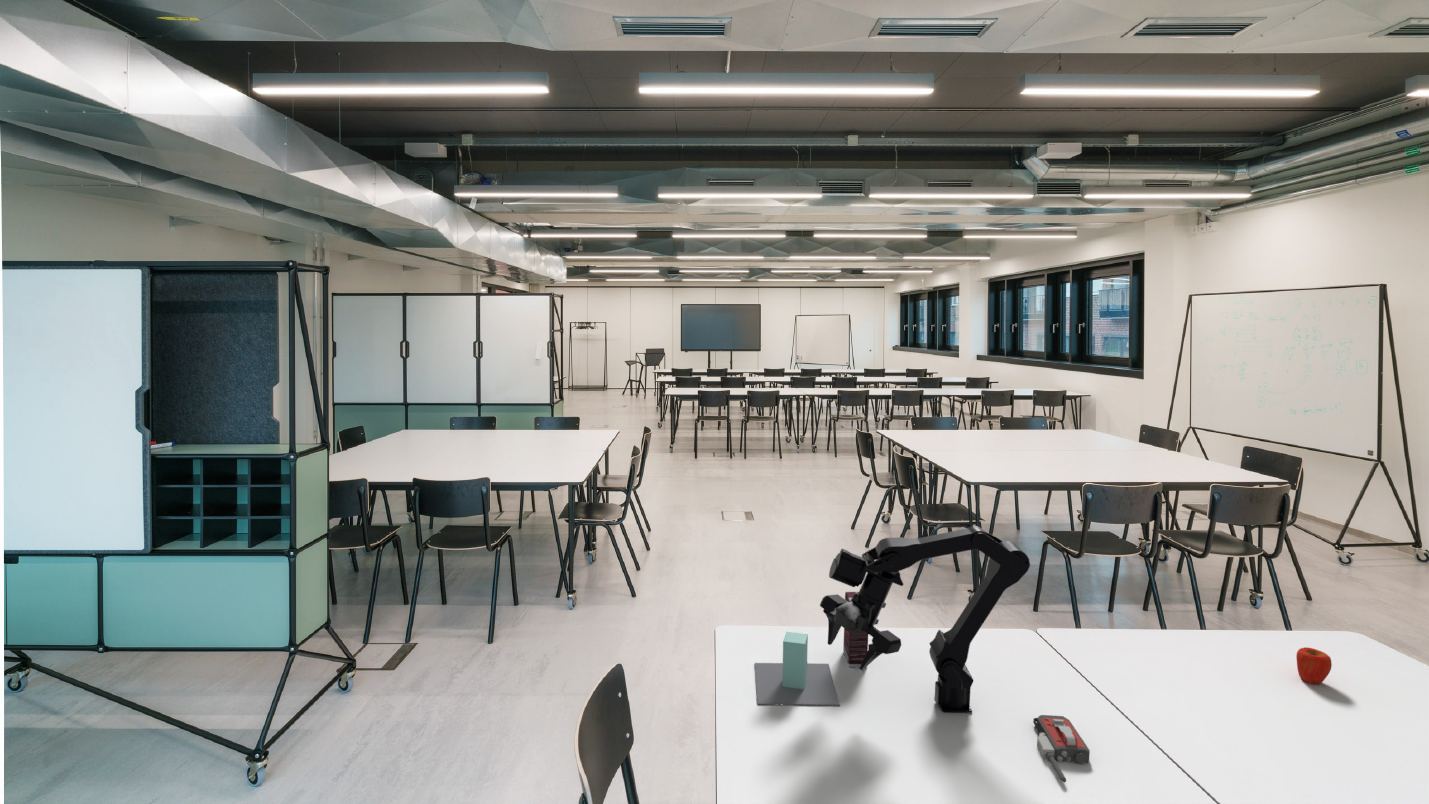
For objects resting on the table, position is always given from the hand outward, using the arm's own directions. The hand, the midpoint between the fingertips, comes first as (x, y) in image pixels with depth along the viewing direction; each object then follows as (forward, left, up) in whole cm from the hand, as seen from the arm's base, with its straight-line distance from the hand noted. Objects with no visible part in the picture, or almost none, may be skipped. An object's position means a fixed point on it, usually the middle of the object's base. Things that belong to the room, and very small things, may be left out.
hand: (845, 656), depth 158 cm
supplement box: (-6, -19, -10) cm, 22 cm away
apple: (-111, -11, -10) cm, 112 cm away
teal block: (+10, -7, -10) cm, 16 cm away
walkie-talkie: (-40, +18, -11) cm, 45 cm away
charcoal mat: (+10, -7, -10) cm, 16 cm away
